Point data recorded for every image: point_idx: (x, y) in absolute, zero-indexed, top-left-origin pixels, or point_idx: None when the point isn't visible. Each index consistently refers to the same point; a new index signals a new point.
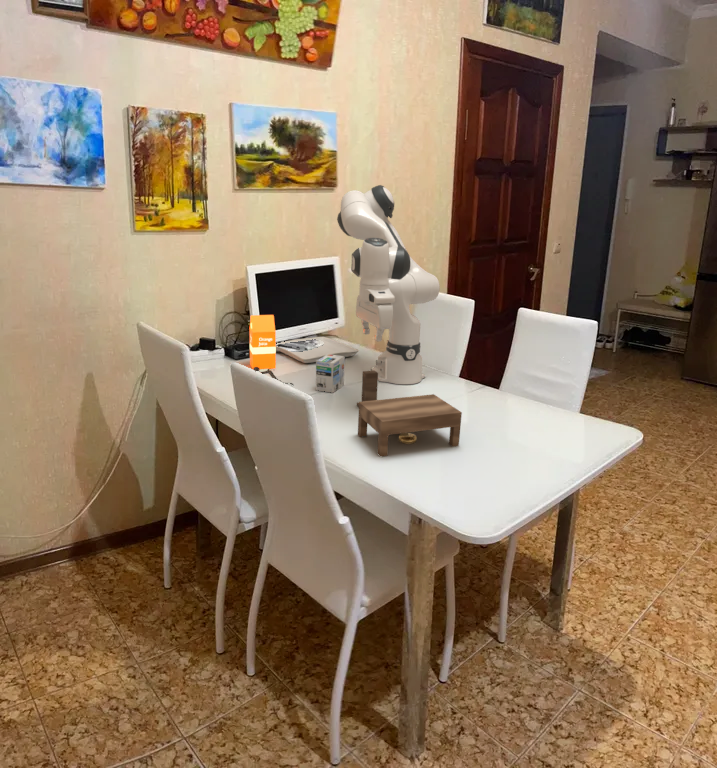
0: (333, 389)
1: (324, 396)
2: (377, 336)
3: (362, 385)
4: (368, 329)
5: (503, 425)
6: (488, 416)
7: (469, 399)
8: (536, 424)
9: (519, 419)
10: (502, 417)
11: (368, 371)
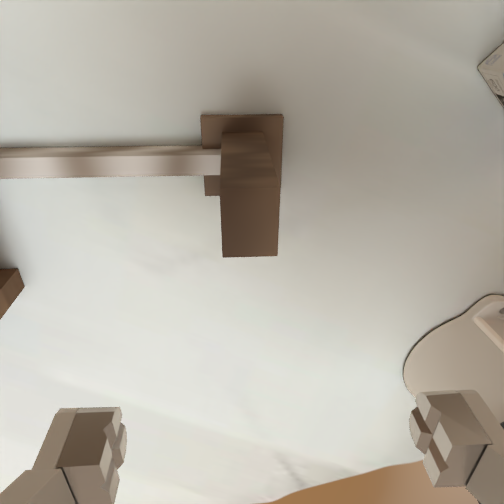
0: (488, 74)
1: (458, 4)
2: (36, 467)
3: (266, 158)
4: (434, 470)
5: (23, 435)
6: None
7: (227, 439)
8: None
9: None
10: None
11: (266, 218)
